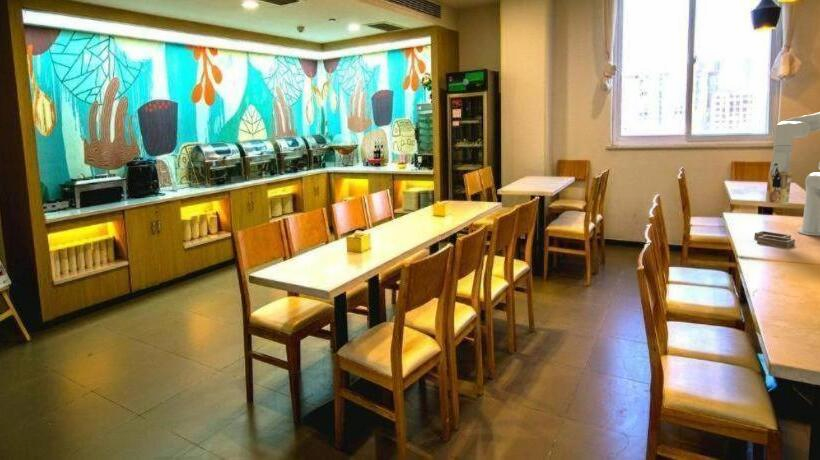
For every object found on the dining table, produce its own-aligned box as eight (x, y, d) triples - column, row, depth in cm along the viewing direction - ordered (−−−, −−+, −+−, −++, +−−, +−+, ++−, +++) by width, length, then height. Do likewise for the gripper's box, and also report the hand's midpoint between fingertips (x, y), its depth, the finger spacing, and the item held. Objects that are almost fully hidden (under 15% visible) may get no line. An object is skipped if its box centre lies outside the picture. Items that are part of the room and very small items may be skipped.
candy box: (788, 203, 269) (792, 172, 265) (784, 204, 266) (788, 173, 263) (768, 201, 276) (772, 170, 273) (764, 202, 274) (768, 171, 270)
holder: (762, 236, 282) (762, 230, 282) (801, 243, 268) (802, 237, 267) (746, 241, 274) (746, 235, 273) (786, 248, 259) (787, 242, 258)
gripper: (782, 147, 273) (778, 184, 277) (765, 149, 264) (761, 187, 268) (799, 148, 267) (795, 185, 271) (783, 150, 258) (778, 189, 262)
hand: (778, 186), depth 269 cm, fingers closed on candy box, 4 cm apart
